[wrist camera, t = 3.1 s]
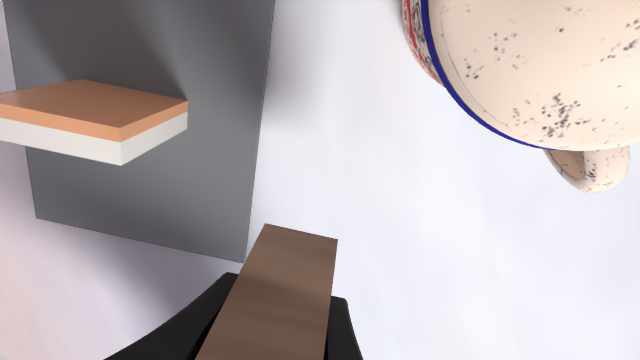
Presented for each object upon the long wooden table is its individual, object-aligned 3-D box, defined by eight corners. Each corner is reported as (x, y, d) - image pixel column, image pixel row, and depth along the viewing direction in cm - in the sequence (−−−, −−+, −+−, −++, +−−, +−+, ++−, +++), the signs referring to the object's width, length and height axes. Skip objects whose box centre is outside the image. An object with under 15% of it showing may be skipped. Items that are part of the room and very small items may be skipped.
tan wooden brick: (323, 297, 16) (296, 480, 9) (256, 282, 16) (183, 453, 9) (337, 239, 15) (318, 402, 8) (265, 223, 15) (188, 371, 8)
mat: (245, 259, 24) (243, 263, 23) (41, 215, 24) (36, 218, 24) (276, -13, 18) (274, -14, 17) (0, -65, 18) (-8, -67, 18)
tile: (187, 128, 20) (121, 165, 15) (84, 107, 21) (-19, 136, 15) (187, 100, 20) (119, 128, 14) (82, 78, 20) (-27, 97, 14)
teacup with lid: (367, -59, 16) (373, -224, 6) (588, -172, 14) (1282, -795, 3) (444, 174, 20) (534, 338, 9) (628, 113, 18) (1023, 237, 7)
